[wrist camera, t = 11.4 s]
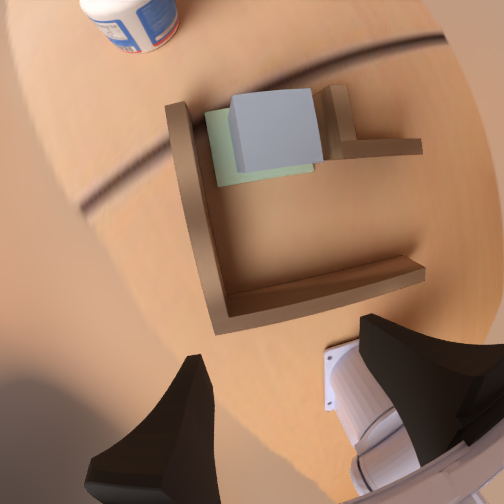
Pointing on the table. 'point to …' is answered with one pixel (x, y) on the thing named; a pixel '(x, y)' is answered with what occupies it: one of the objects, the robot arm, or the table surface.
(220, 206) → the table surface
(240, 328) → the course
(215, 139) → the pad
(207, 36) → the table surface
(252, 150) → the block
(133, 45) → the pill bottle
